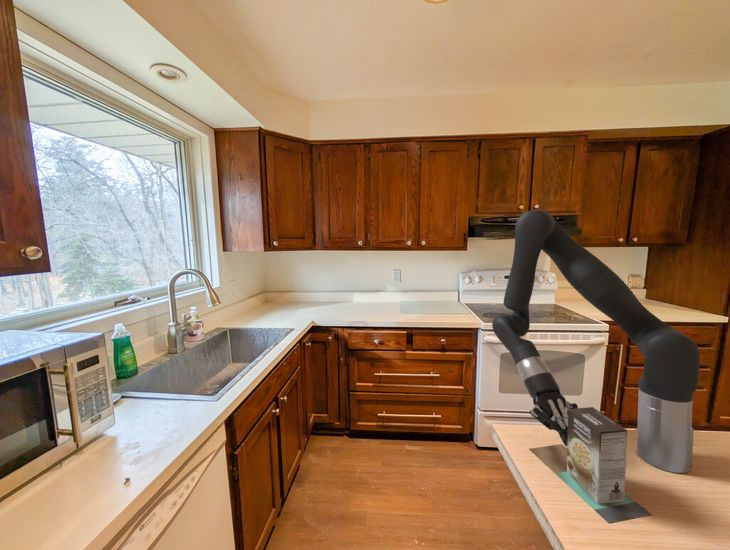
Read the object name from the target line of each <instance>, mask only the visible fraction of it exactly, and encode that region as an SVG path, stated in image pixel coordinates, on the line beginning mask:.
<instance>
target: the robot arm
mask: <svg viewBox="0 0 730 550" xmlns="http://www.w3.org/2000/svg"><path fill="white" fill-rule="evenodd" d="M514 227H515V228H514V229H515V231H514V233H515V234H514V235H515V236H514V251H513V258H512V262H511V263H512V264H511V268H510V272H509V277H508V279H507V285H506V288H505V292H504V298H503V306H504V307H505V308H507V309H509V310H510V311H511V310H512V314H499V315H496V316H495V317H494V318H493V320H492V324H491V327H492V330H493V333H494V334H495V336H496V337H497V339H498V340H499V342H500V343H501V344H502V345H503V346H504V347H505V349H506V350H507V351H509V353H510V355H511V357H512V359H513V361H514V363H515V365H516V368H517V370H518V373H519V376H520V377H521V380H522V381H523V384H524V386H525V388H526V390H527V392H528V394H529V396H530V398H532V400H533V401H532V404H533V405H534V406H533V408H532V409H530V410H529V414H530V415H531V416H532V417H534V418H535V419H536V420H537V421H538V422H539V423H540V424H542V425H543V426H544V427H545V428H547V430H550V431H552V430H553V431H556V432H557V433H558V435H559V437H560V439H561V440H562V443H563V444H564V446H565V447H567V442H568V409H576V408H579V406H578V404H577V403H572V402H569V401H568V400H566V397H564V396H563V395H562V393H561V391H560V386H559V385H558V383H557V382H556V379H555V378H554V376H553V374H552V372H551V370H550V369H549V366H548V365H547V363H546V362H545V361H544V359H543V358H542V356H541V354H540V353H539V351H538V349H537V347H536V345H535V344H534V342H533V341H532V340H530V339H525V338H523V337H525V336H526V335H527V333H528V332H529V330H530V325H531V324H530V323H531V322H530V302H531V298H532V296H533V295H532V294H533V290H534V285H535V278H536V271H537V265H538V260H539V257H540V254H541V251H542V252H543V253H544V254H546V255H548V257H549V258H550V259H551V260H552V261H553V263H554V264H555V265H556V267H557V269H559V272H560V273H561V274H562V276H563V277H564V278H565V280H567V282H568V283H569V285H570V286H571V287H573V289H575V291H576V292H577V293H579V295H581V296H582V297H583V298H584V299H585V300H586V301H588V303H590V305H592V306H594V308H595V309H596V310H598V311H599V312H601V313H603V314H604V315H605V316H606V317H608V318H609V319H610V320H612V321H613V322H614V323H615V324H616V325H617V326H618V327H619V328H620V329H621V330H622V331H623V332H624V333H625V334H626V335H627V336H628V338H629V340H630V341H632V343H633V344H634V345H635V347H636V348H637V350H639V351H640V353H641V354H642V355H643V356H644V358H643V359H644V360H643V361H644V362H643V373H642V374H643V375H641V376H640V377H639V378H638V398H637V399H638V400H637V429H636V430H637V433H636V434H637V435H636V453H637V456H638V457H639V458H640V459H642V460H643V461H644V462H645V463H648V464H650V465H651V466H653V467H655V468H658V469H661V470H664V471H665V472H670V473H675V474H685V473H688V472H689V471H690V467H692V466H693V450H694V449H693V446H694V428H693V427H692V423H693V399H694V397H693V396H694V393H695V392H696V390H697V389H698V384H699V377H700V367H701V366H700V364H701V353H700V349H699V347H698V345H697V343H696V342H695V341H694V340H692V339H691V338H690V337H689V336H687V335H685V334H683V333H682V332H679V331H678V330H676V329H675V328H673V327H671V326H670V325H668V324H666V323H665V322H664V321H663V320H662V319H660V318H658V316H656V315H655V314H654V313H652V312H651V311H649V310H648V309H647V308H646V307H645V306H644V305H643V304H642V303H641V301H639V299H638V298H637V297H636V295H635V294H634V292H633V291H632V289H630V287H629V286H628V285H627V284H626V283H625V282H624V280H623V279H622V278H621V277H620V276H619V275H618V274H616V273H615V271H613V270H612V269H611V268H610V267H609V266H608V265H607V264H605V262H603V261H601V259H599V257H596V255H594V254H593V253H592V252H591V251H589V250H588V249H586V248H585V247H583V246H582V245H581V244H580V243H578V242H577V241H576V240H574V239H573V238H572V237H571V236H570V235H569V234H568V233H567V231H566V230H565V229H563V227H562V226H561V225H560V224H559V222H557V220H556V219H555V218H554V216H553V215H552V214H551V213H550V212H548V211H546V210H542V209H532V210H531V209H530V210H528V211H526V212H524V213H522V214H520V216H519V217H518V218H517V220H516V222H515V226H514Z"/></svg>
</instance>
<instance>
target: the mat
mask: <svg viewBox="0 0 730 550" xmlns="http://www.w3.org/2000/svg"><path fill="white" fill-rule="evenodd" d="M528 450H529V451H530V452H531V453H532V454H533V455H534V456H535V457H537V459H539V460H540V461H541V462H542V463H543V464H544V465H545V466H546V467H547V468H548V469H550V471H551V472H552V473H554V474H555V475H556V476H557V477H558V478H559V479H561V481H562V482H564V484H566V485H567V486H568V487H569V488H570V489H571V490H572V491H573V492H574V493H575V494H576V495H577V496H579V497H580V498H581V499H582V500H583V502H585V503H586V504H587V505H588V506H590V508H592V509H593V510H594V511H595V512H596V513H597V514H598V515H599V516H600V517H601V518H602V519H603V520H604V521H605V522H607V524H614V523H618V522H624V521H629V520H634V519H638V518H643V517H648V516H653V514H652V513H651V512H650V511H648V510H647V509H645V508H644V507H643V506H642V505H640V504H639V503H638V502H637V501H635V500H634V499H633V498H632V497H630V496H629V495H628V494H627V493H624V502H613V503H602V504H598V503H596V502H595V501H594V500H593V499H592V498H591V497H590V496H589V495H588V494H587V493H586V492H585V490H584V489H583V488H582V487H581V486H580V485H579V484H578V483H577V482H576V481H575V480H574V479H573V478H572V477H571V476H570V475H569V474H568V473H567V446H565V445H563V444H562V443H561V444H551V445H546V446H539V447H532V448H528Z"/></svg>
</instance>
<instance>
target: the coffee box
mask: <svg viewBox="0 0 730 550" xmlns="http://www.w3.org/2000/svg"><path fill="white" fill-rule="evenodd" d="M627 440H628V429H627V428H625V427H623V426H622V425H620V424H619V423H617V421H615V420H613V419H611V418H610V417H608V416H606V415H605V414H604V413H602V412H601V411H599V410H598V409H596V408H595V407H593V406H589V407H587V406H586V407H578V408H576V409H568V442H567V446H566V448H567V473H568V474H569V475H570V476H571V477H572V478H573V479H574V480H575V481H576V482H577V483H578V484H579V485H580V486H581V487H582V488H583V489H584V490H585V492H586V493H587V494H588V495H589V496H590V497H591V498H592V499H593V500H594V501H595V502H596V503H598V504H602V503H613V502H624V493H625V490H626V488H625V487H626V468H627V467H626V466H627V443H628V441H627ZM625 494H626V493H625Z"/></svg>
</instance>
